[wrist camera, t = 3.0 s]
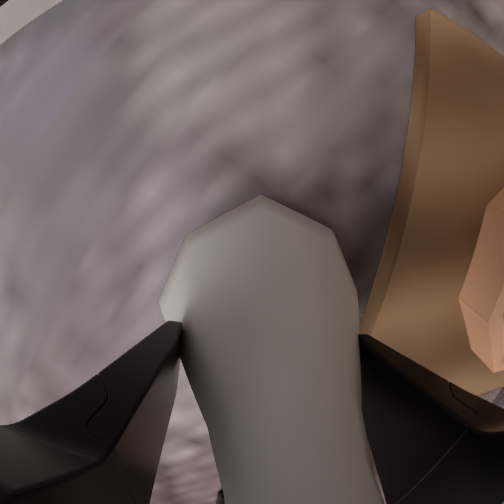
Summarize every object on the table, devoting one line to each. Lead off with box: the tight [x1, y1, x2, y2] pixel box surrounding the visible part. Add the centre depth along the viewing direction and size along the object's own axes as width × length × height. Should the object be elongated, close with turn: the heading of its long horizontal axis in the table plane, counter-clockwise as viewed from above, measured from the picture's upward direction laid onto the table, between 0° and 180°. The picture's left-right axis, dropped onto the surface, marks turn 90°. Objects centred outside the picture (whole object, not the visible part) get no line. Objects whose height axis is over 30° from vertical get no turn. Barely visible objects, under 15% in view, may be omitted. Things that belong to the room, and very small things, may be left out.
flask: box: [159, 195, 384, 504], centre depth 7 cm, size 7×7×10 cm
